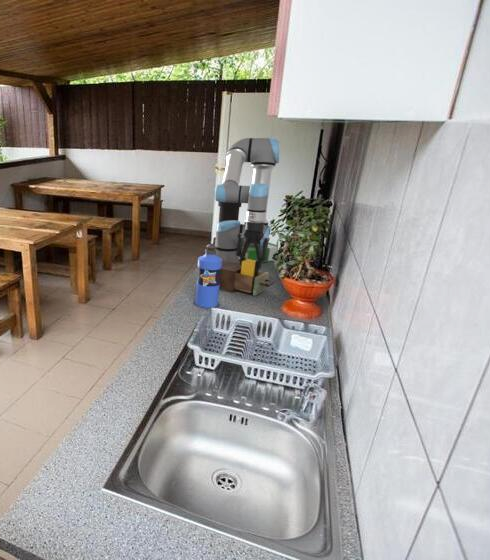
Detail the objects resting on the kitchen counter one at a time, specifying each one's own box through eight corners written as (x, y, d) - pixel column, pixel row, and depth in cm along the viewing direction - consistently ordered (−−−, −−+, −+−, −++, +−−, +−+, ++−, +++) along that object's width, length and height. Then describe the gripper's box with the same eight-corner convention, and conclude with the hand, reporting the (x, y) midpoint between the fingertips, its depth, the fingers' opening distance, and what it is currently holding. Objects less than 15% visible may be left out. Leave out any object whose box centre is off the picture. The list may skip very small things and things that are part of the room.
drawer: (275, 291, 186) (278, 274, 183) (265, 298, 178) (267, 280, 175) (238, 282, 197) (240, 266, 194) (226, 288, 189) (228, 271, 186)
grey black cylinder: (226, 240, 278) (230, 194, 269) (245, 246, 265) (250, 197, 255) (207, 243, 271) (210, 196, 261) (225, 249, 257) (230, 199, 247)
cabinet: (245, 285, 196) (247, 265, 192) (232, 292, 187) (234, 271, 183) (217, 278, 205) (218, 259, 201) (203, 284, 196) (205, 264, 192)
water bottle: (195, 298, 179) (200, 240, 171) (218, 300, 177) (223, 242, 169) (194, 306, 170) (198, 246, 162) (217, 309, 168) (223, 247, 160)
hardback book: (226, 243, 238) (257, 239, 249) (225, 255, 240) (256, 251, 251) (249, 251, 223) (281, 246, 234) (247, 264, 226) (279, 259, 237)
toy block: (246, 271, 190) (247, 258, 188) (257, 274, 186) (259, 261, 184) (240, 274, 186) (241, 261, 184) (252, 277, 182) (253, 263, 181)
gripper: (230, 219, 182) (225, 271, 189) (273, 225, 170) (266, 280, 178) (238, 217, 187) (233, 267, 194) (280, 223, 176) (273, 276, 183)
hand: (249, 273), depth 186 cm, fingers closed on toy block, 5 cm apart
